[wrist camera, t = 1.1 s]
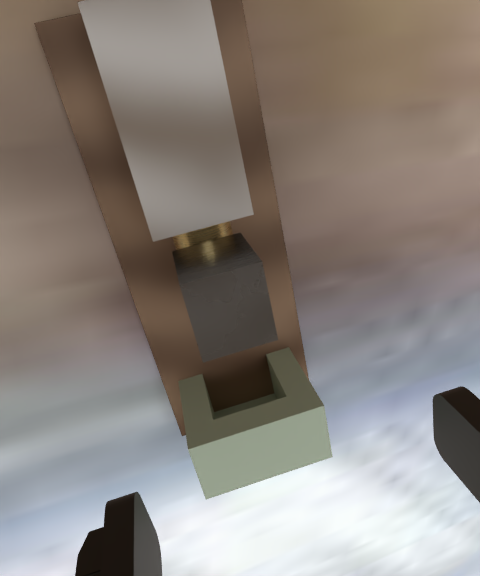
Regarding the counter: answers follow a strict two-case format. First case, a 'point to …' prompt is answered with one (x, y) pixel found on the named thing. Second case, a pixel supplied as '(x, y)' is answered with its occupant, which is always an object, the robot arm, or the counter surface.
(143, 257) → the stand
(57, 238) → the counter surface
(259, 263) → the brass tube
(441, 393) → the robot arm
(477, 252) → the counter surface
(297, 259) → the counter surface
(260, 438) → the socket block
